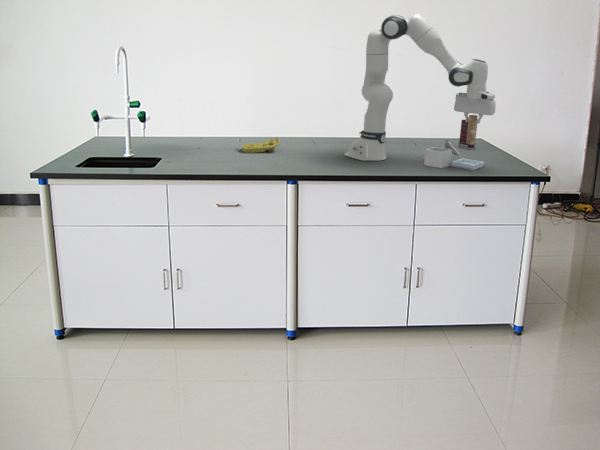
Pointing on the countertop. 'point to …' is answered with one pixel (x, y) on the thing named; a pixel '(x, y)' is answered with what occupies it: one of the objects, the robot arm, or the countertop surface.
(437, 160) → the white open box
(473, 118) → the dowel
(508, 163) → the countertop surface
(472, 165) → the tray
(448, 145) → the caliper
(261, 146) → the plastic component
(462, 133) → the supplement box
